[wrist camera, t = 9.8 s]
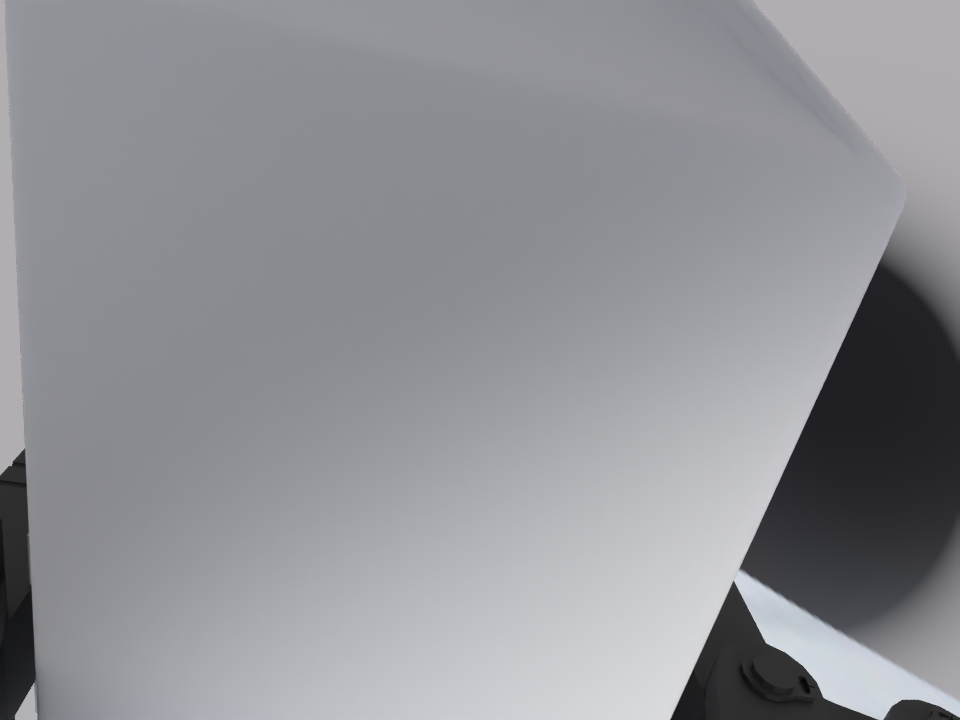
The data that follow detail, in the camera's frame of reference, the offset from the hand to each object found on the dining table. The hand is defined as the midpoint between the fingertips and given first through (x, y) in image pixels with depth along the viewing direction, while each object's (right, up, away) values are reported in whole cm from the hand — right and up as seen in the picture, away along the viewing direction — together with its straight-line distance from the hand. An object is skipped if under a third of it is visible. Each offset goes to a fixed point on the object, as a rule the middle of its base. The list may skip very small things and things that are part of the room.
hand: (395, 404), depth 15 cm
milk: (-2, -13, 0) cm, 13 cm away
